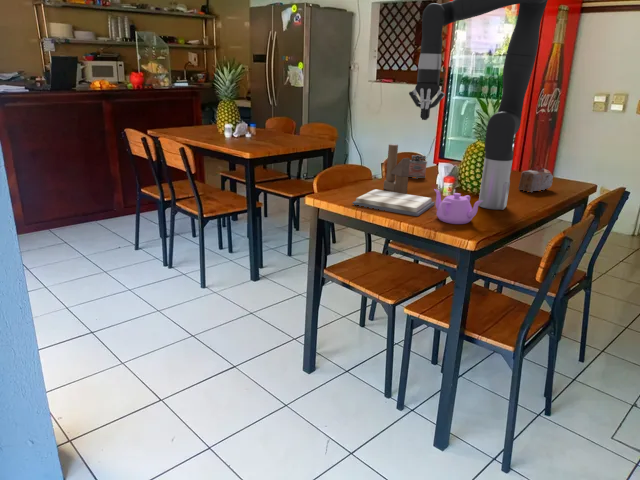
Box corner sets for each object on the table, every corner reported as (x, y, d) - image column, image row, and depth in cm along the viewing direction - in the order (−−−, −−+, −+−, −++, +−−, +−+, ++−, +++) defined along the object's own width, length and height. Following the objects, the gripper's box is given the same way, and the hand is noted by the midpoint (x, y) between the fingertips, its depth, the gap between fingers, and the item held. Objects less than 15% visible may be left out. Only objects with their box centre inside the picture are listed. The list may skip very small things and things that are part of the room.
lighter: (407, 177, 222) (409, 155, 218) (407, 176, 225) (409, 154, 222) (425, 179, 221) (427, 156, 217) (425, 177, 224) (427, 155, 220)
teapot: (431, 213, 168) (434, 188, 165) (473, 216, 167) (476, 190, 164) (435, 224, 157) (438, 196, 154) (480, 226, 156) (484, 199, 153)
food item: (535, 186, 213) (539, 163, 210) (552, 190, 207) (556, 167, 204) (515, 190, 206) (519, 166, 202) (533, 194, 199) (537, 170, 196)
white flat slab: (423, 207, 172) (424, 202, 171) (416, 212, 165) (416, 208, 165) (365, 197, 182) (365, 193, 181) (356, 202, 175) (356, 198, 175)
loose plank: (431, 202, 179) (431, 197, 178) (424, 206, 172) (424, 202, 171) (374, 193, 189) (375, 189, 188) (365, 197, 182) (366, 193, 182)
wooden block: (399, 195, 191) (403, 148, 185) (383, 189, 200) (386, 143, 194) (407, 194, 193) (411, 147, 187) (390, 188, 201) (394, 143, 195)
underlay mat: (434, 204, 179) (434, 201, 179) (417, 216, 164) (418, 213, 164) (373, 194, 190) (373, 192, 190) (352, 205, 175) (352, 202, 175)
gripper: (451, 68, 171) (445, 120, 177) (414, 67, 177) (410, 117, 183) (445, 68, 165) (439, 122, 170) (407, 67, 171) (403, 119, 176)
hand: (424, 119), depth 177 cm, fingers closed
